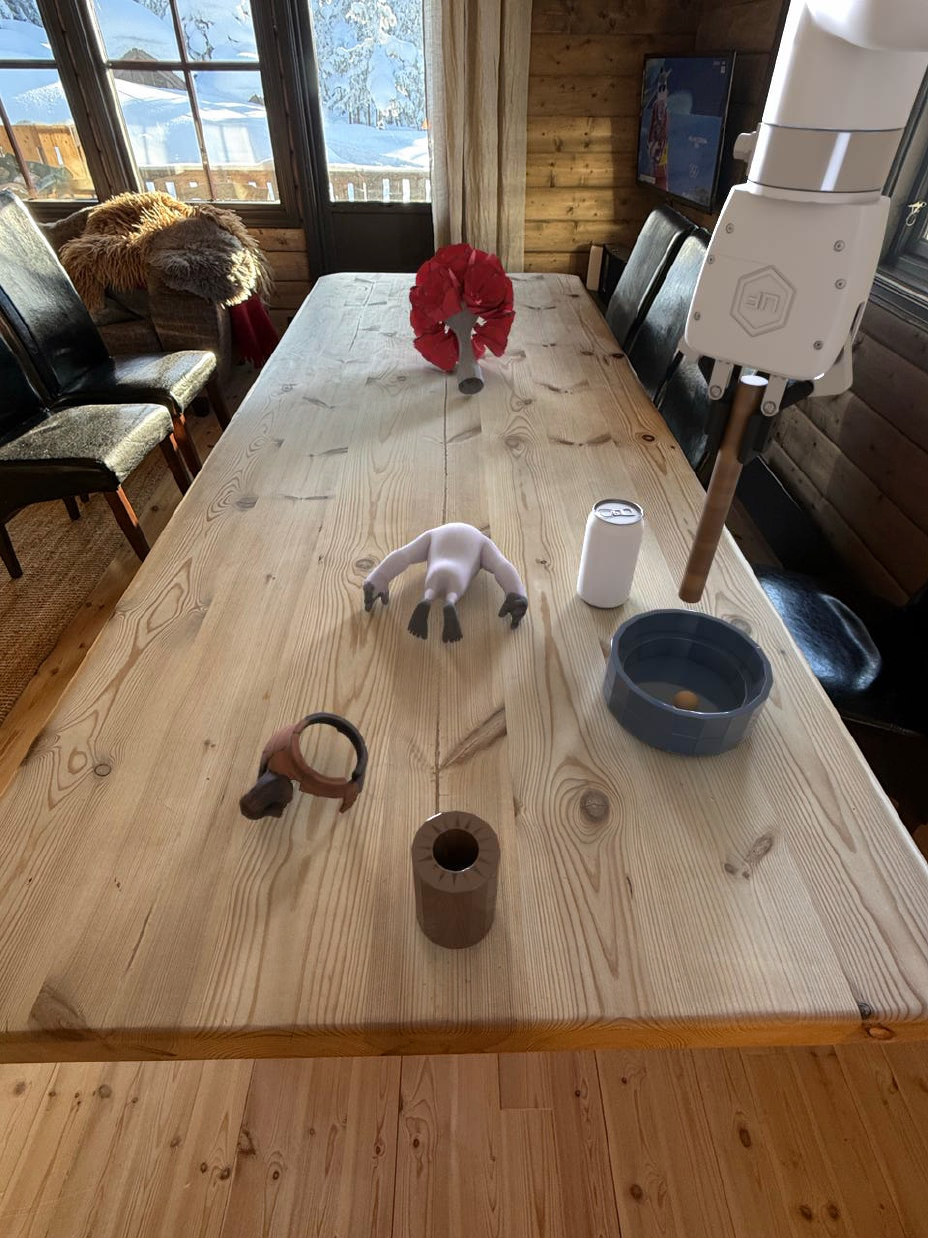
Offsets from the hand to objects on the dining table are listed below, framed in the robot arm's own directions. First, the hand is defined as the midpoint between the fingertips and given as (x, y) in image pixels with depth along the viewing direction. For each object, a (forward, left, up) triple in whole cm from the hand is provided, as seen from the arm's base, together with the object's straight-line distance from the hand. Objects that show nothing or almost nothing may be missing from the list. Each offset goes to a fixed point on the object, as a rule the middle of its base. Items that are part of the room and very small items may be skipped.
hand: (733, 450), depth 51 cm
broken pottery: (-20, +31, -28) cm, 47 cm away
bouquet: (+84, +42, -28) cm, 98 cm away
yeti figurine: (+12, +25, -28) cm, 40 cm away
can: (+16, +7, -28) cm, 33 cm away
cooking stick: (0, 0, -15) cm, 15 cm away
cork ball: (-2, -2, -26) cm, 26 cm away
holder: (-27, +15, -28) cm, 42 cm away
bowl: (0, -2, -28) cm, 28 cm away
